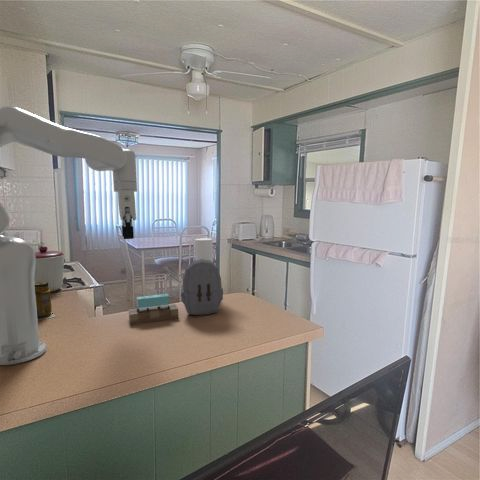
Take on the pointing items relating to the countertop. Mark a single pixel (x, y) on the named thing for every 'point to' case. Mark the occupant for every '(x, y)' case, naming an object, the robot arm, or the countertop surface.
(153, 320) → the tan slotted block
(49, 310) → the condiment
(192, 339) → the countertop surface
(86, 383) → the countertop surface
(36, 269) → the canister
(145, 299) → the teal and white bridge
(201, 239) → the cylindrical container
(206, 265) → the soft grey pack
